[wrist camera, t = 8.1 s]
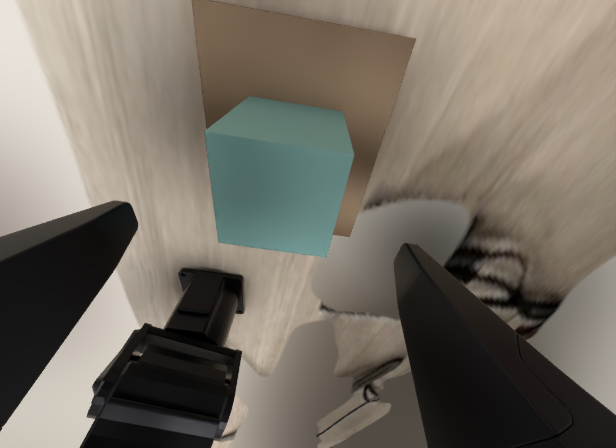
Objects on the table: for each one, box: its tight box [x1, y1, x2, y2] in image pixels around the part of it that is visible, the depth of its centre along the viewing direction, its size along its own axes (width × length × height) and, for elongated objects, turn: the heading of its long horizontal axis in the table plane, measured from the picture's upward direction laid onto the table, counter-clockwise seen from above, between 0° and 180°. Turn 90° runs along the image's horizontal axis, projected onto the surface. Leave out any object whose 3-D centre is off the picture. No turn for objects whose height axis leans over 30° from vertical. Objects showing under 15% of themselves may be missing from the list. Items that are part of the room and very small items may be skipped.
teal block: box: [204, 96, 354, 257], centre depth 12 cm, size 5×5×6 cm
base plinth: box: [192, 0, 416, 237], centre depth 15 cm, size 12×10×2 cm
